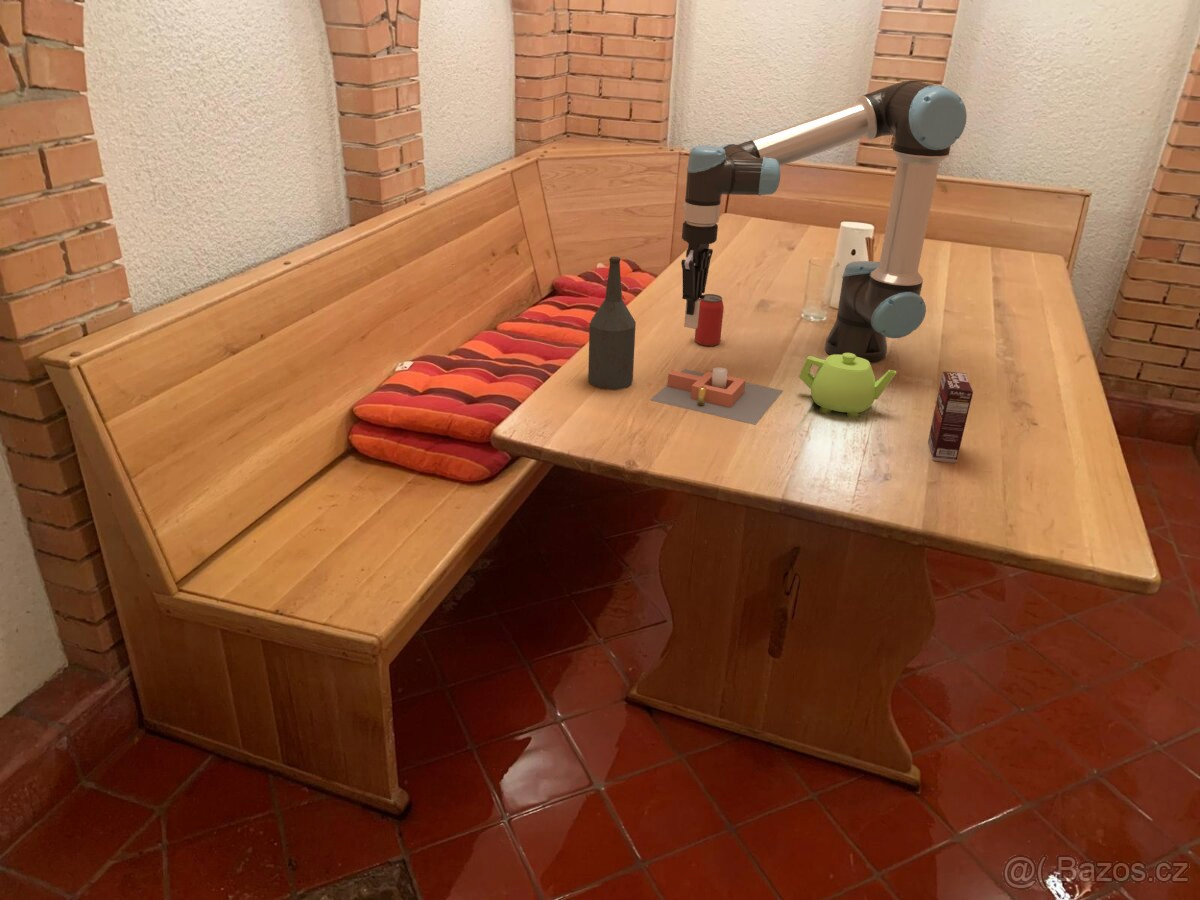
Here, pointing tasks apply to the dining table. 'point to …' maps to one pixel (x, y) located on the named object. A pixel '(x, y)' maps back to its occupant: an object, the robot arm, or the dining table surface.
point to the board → (743, 409)
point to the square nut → (708, 387)
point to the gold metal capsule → (701, 396)
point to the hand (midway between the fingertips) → (690, 326)
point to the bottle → (612, 338)
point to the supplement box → (950, 417)
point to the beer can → (709, 320)
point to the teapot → (844, 383)
